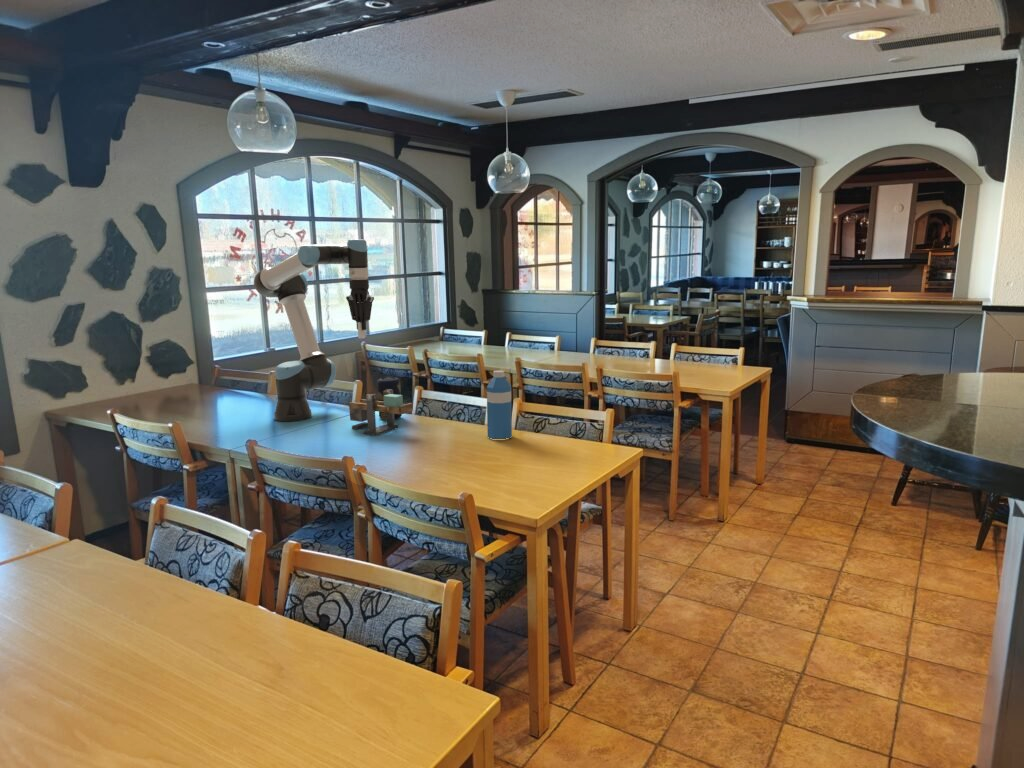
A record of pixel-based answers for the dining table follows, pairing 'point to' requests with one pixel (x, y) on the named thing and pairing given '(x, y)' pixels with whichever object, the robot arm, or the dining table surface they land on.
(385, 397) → the rider
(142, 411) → the dining table surface
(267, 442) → the dining table surface
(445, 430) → the dining table surface
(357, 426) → the stop pad
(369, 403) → the pivot frame
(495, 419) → the water bottle
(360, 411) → the beam
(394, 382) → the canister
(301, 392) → the robot arm
